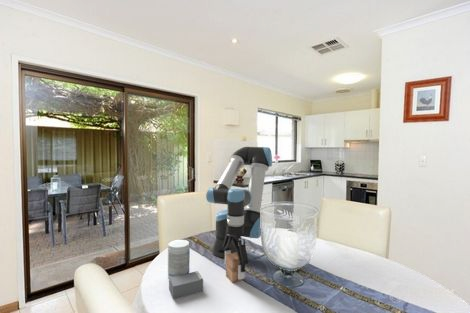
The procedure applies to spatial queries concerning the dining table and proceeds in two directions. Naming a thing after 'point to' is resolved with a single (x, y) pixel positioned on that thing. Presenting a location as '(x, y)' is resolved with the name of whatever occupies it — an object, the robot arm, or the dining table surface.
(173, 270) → the supplement tub
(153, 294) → the dining table surface
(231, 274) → the light brown wooden block
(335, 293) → the dining table surface
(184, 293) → the grey long rectangular block
